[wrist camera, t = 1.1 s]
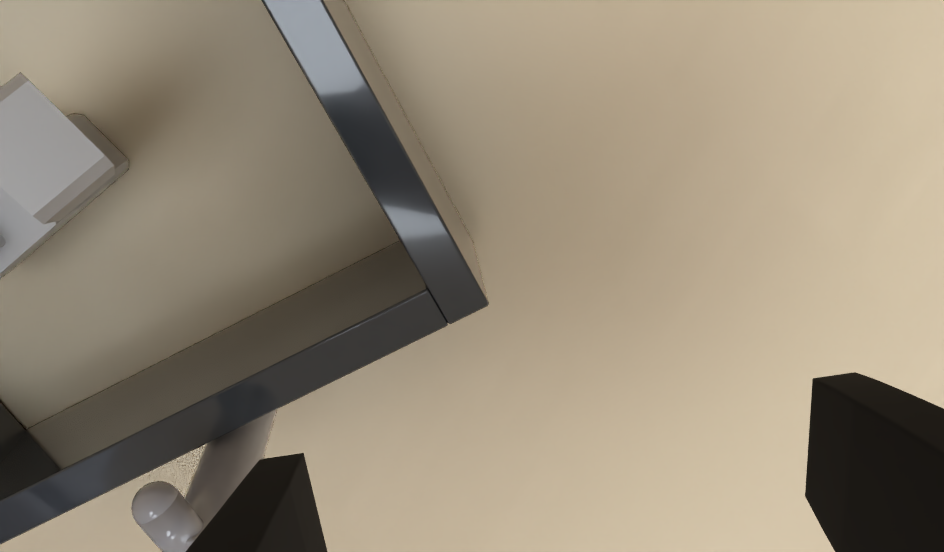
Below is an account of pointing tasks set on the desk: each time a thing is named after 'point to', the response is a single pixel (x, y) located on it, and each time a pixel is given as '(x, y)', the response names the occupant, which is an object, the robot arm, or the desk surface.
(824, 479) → the robot arm
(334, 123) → the sink
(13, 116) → the lighter
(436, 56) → the desk surface
